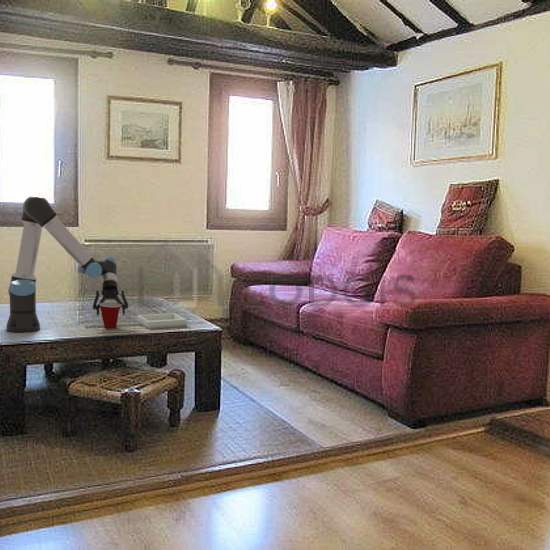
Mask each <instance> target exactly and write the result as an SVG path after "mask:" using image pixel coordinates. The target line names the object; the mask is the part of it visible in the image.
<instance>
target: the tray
mask: <svg viewBox="0 0 550 550" xmlns="http://www.w3.org/2000/svg"><path fill="white" fill-rule="evenodd" d="M137 323H139V324H140V323H141V324H142V325H141V324H140V325H141V326H143V328H146V329H147V330H153V329H155V330H156V329H167V328H181V327H182V328H184V327H185V328H187V325H188V324H187V319H186V318H184V317H183V316H181V315H178V314H177V313H175V312H173V313H172V312H171V313H154V314H138V315H137Z"/></svg>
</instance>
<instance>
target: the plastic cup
mask: <svg viewBox="0 0 550 550" xmlns="http://www.w3.org/2000/svg"><path fill="white" fill-rule="evenodd" d="M98 304H99V303H98ZM99 305H100V307H101V319H102V321H103V327H104V328H105V327H106V328H105V329H115V328H114V327H116V328H117V325H118V321H119V319H118V318H119V313H120V311H121V304H119V303H117V302H111V301H109V302H107V301H105V302H104V303H100V304H99Z"/></svg>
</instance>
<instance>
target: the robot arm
mask: <svg viewBox="0 0 550 550" xmlns="http://www.w3.org/2000/svg"><path fill="white" fill-rule="evenodd" d="M21 222H22V224H23V229H22V234H21V239H20V244H19V251H18V257H17V262H16V263H17V264H16V267H15V268H16V269H15V272H14V273H12V274H11V277H10V281H9V286H8V291H7V292H8V293H7V294H8V295H9V296H8V297H9V316H8V320H7V322H6V326H5V327H6V331H7V332H9V333H31V332H36V331H39V330H40V329H41V323H40V320H39V317H38V316H37V315H38V314H37V312H36V311H37V309H36V308H37V299H36V297H37V295H36V294H37V293H36V290H37V286H36V283H37V277H36V276H35V271H36V265H37V259H38V254H39V247H40V242H41V235H42V230H43V229H46V231H47V232H48V233H49V234H50V235H51V236H52V238H54V240H55V241H56V242H57V243H58V244H59V245H60V246H61V247H62V248H63V250H64V251H65V252H66V253H67V254H68V255H69V256H70V258H72V259H73V260H74V261H75V263H76V264H77V272H78V273H79V274H82V275H87V276H88V277H90V278H94V279H95V278H96V279H97V278H99V277H100V276H101V287H102V290H101V291H99V290H96V292H95V299H94V301H93V304H92V309H93V310H96V316H98V319H99V320H98V321H99V322H102V312H101V307H100V305H99V304H100V303H104V302H107V300H114V301H115V303H119V304H121V307H120V321H123V319H124V316H123V315H125V314H126V311H125V310H127V309H129V303H128V300H127V299H126V296H125V290H121V291H119V290H118V275H117V269H118V267H117V261H116V259H115V258H114V257H112V256H107V257H104V258H102V260H96V259H95V258H94V257H93V256H92V255H91V254H90V253H89V251H88V250H87V249H86V248H85V247H84V246H83V245H82V243H80V241H78V239H77V238H76V237H75V236H74V235H73V233H71V231H70V230H69V228H67V226H66V225H64V223H63V222H62V221H61V220H60V219H59V218H58V213H57V212H56V211H55V210H54V208H53V207H52V206H51V204H50V202H49V201H48V200H47V199H46V198H45V197H43V196H40V195H32V196H29V197H27V198H26V199H25V200H24V202H23V205H22V215H21ZM101 295H102V298H101V299H100V300H99V298H100V297H101ZM119 296H120V297H121V298H119ZM98 301H99V302H98Z"/></svg>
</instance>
